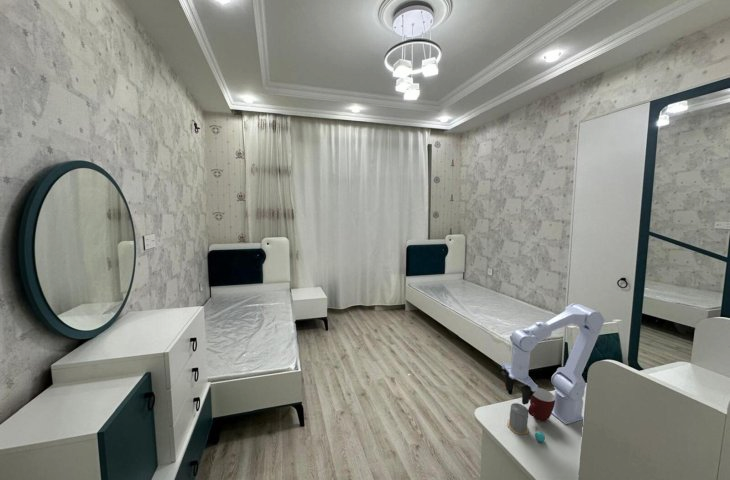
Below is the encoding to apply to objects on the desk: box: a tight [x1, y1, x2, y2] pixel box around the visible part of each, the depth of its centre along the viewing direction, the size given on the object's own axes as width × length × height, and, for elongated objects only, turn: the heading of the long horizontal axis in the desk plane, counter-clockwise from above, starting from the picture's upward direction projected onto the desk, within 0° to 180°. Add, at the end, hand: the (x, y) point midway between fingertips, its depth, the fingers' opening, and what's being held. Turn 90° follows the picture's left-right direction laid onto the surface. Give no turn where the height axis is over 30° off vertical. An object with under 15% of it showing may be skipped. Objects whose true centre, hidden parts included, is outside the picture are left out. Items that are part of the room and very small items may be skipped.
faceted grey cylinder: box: [508, 402, 529, 432], centre depth 105 cm, size 6×6×7 cm
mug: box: [527, 387, 555, 423], centre depth 109 cm, size 10×8×10 cm
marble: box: [534, 431, 546, 443], centre depth 100 cm, size 3×3×3 cm
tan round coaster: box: [506, 418, 530, 436], centre depth 106 cm, size 7×7×1 cm
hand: (516, 396), depth 108 cm, fingers open, 7 cm apart
